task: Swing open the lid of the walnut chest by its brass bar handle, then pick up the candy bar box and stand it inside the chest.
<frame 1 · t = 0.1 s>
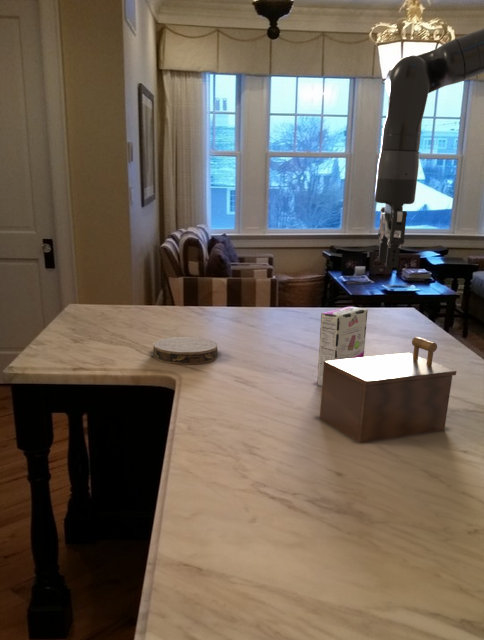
hand: (387, 264, 139), 27 cm above the kitchen island, tool pointing down, fingers open, 8 cm apart
chest: (380, 426, 132), on the kitchen island
lid: (390, 356, 127), point 13 cm above the kitchen island, hinge at 0.0°
candy bar box: (338, 385, 157), on the kitchen island
grey round disc: (185, 356, 175), on the kitchen island
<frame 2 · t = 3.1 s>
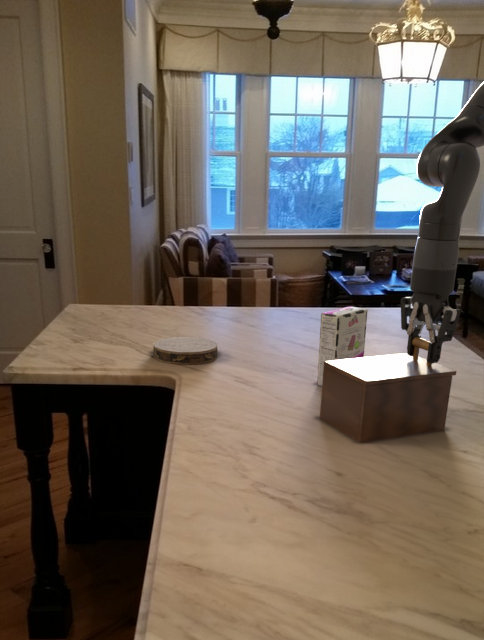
hand: (422, 358, 130), 12 cm above the kitchen island, tool pointing down, fingers closed on lid, 5 cm apart
lid: (390, 356, 127), point 13 cm above the kitchen island, hinge at 0.0°, touching gripper
everything else where it was.
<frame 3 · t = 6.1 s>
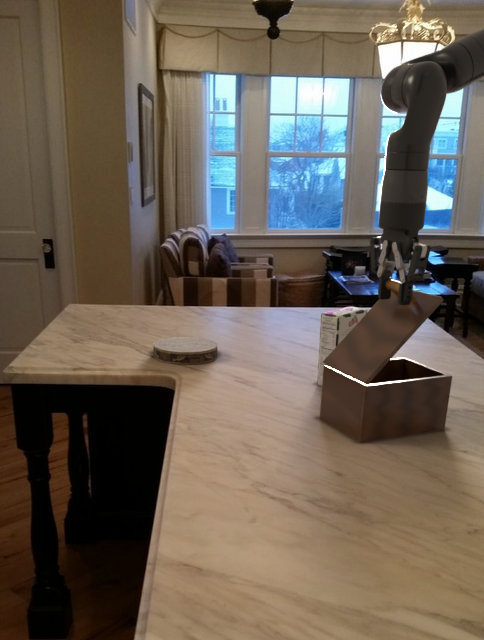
hand: (393, 301, 123), 23 cm above the kitchen island, tool pointing down, fingers closed on lid, 5 cm apart
lid: (374, 324, 123), point 20 cm above the kitchen island, hinge at 44.2°, touching gripper
everything else where it was.
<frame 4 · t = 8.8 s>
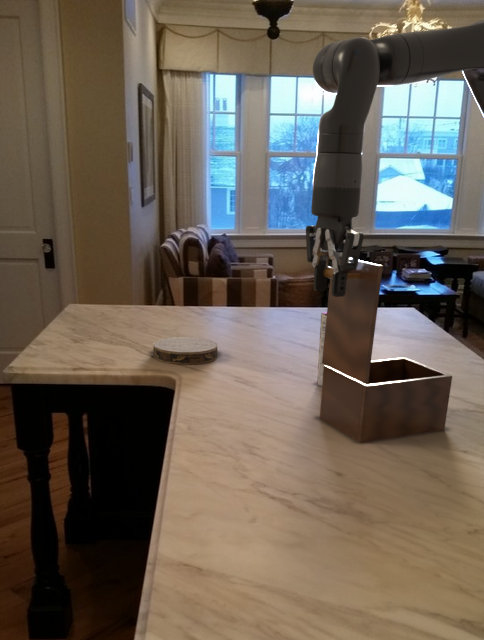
hand: (328, 292, 117), 25 cm above the kitchen island, tool pointing down, fingers closed on lid, 5 cm apart
lid: (339, 318, 120), point 21 cm above the kitchen island, hinge at 88.6°, touching gripper
everything else where it was.
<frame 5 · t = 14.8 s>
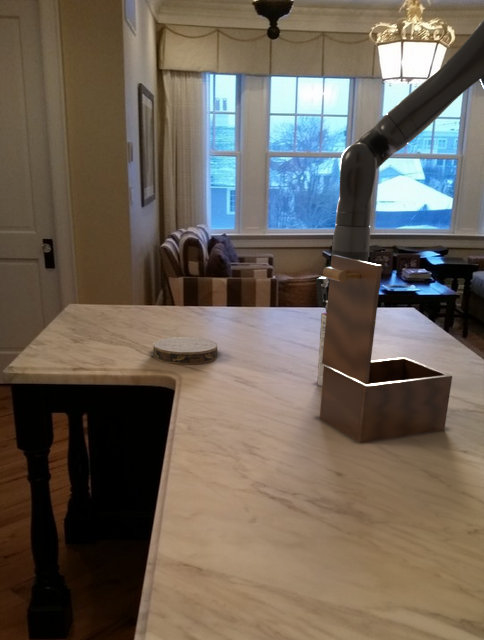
hand: (343, 328, 152), 13 cm above the kitchen island, tool pointing down, fingers closed on candy bar box, 5 cm apart
lid: (339, 318, 120), point 21 cm above the kitchen island, hinge at 89.0°
candy bar box: (338, 385, 157), on the kitchen island, touching gripper
everything else where it was.
when the fingers open (13 cm above the kitchen island, at t = 25.9 s): candy bar box stays where it is, resting on chest.
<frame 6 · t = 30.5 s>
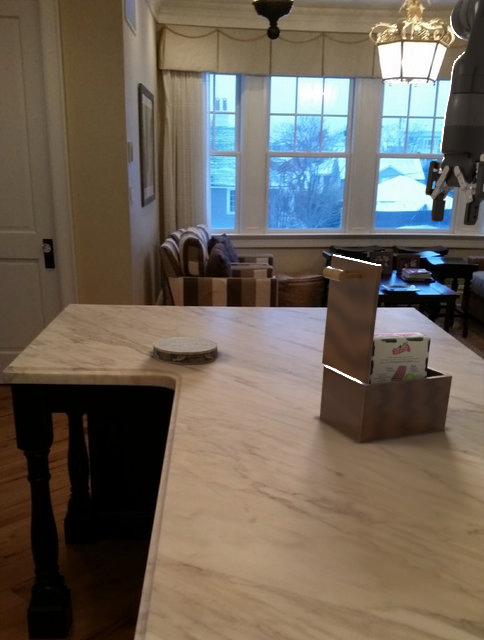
hand: (452, 223, 127), 36 cm above the kitchen island, tool pointing down, fingers open, 8 cm apart
candy bar box: (387, 422, 132), point 1 cm above the kitchen island, touching chest
everything else where it was.
at the end: lid at +89° (first picture: +0°); candy bar box inside the target area in the chest (1.6 cm from its centre), point 0.6 cm above the chest's base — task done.
